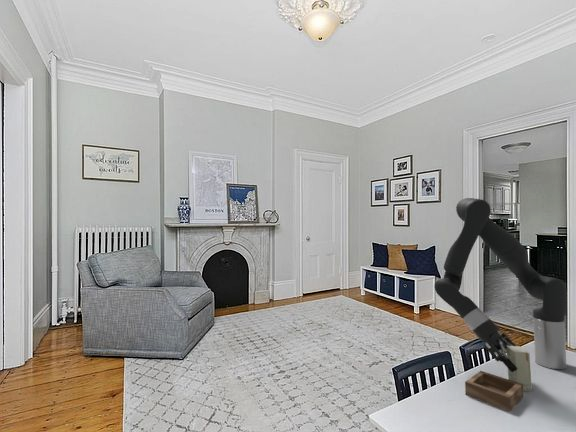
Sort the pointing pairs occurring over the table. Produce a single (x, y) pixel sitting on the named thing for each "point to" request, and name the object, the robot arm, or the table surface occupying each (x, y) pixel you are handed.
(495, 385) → the block
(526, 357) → the skincare box
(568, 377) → the table surface
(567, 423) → the table surface
